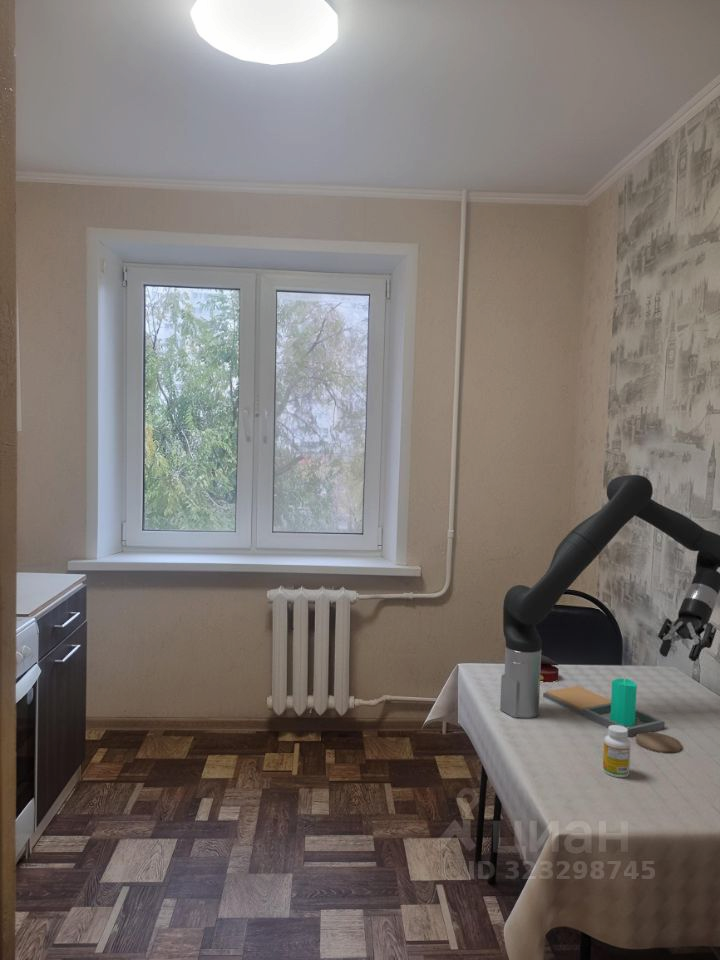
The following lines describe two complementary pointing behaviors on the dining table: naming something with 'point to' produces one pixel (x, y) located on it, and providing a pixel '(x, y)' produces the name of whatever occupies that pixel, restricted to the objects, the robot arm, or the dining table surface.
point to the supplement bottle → (617, 752)
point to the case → (598, 708)
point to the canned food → (548, 670)
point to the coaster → (658, 742)
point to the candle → (623, 701)
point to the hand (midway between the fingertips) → (677, 657)
